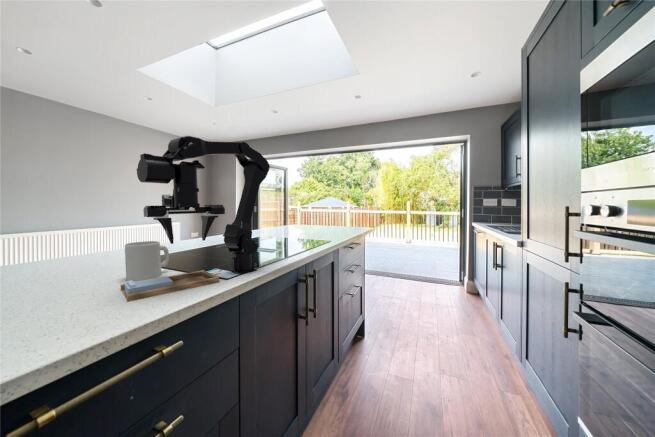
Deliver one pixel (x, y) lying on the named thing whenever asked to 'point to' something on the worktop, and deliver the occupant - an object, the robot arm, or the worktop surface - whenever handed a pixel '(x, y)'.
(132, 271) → the mug
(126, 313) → the worktop surface
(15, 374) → the worktop surface
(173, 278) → the brown flat wooden tray
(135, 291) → the blue mattress with pillow
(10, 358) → the worktop surface
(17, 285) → the worktop surface
